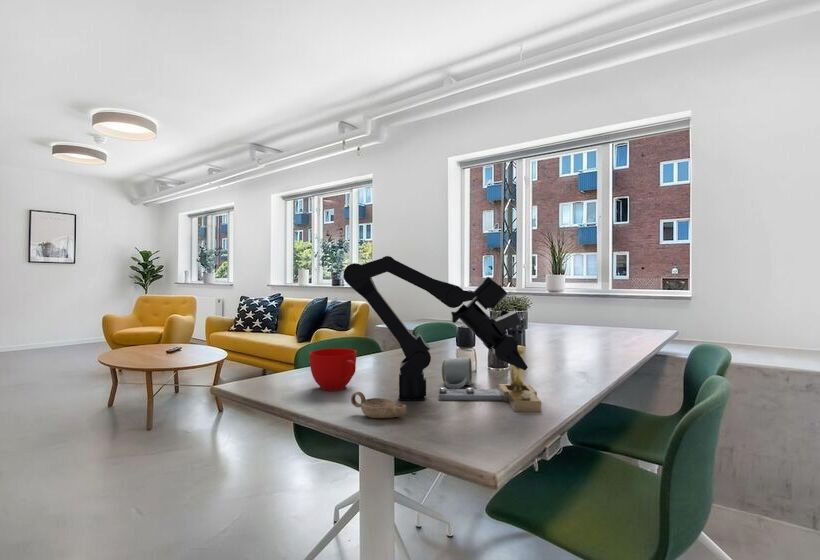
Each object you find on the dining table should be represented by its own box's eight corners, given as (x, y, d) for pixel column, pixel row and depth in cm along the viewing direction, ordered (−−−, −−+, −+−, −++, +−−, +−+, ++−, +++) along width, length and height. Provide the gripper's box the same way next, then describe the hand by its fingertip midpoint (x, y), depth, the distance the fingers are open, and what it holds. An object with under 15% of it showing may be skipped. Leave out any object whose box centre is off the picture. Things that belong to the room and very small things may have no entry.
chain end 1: (439, 400, 108) (439, 392, 108) (438, 392, 116) (438, 384, 116) (536, 401, 107) (536, 392, 107) (529, 393, 115) (529, 384, 115)
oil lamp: (411, 415, 97) (411, 392, 97) (397, 425, 90) (396, 401, 90) (360, 408, 103) (360, 387, 103) (343, 417, 96) (343, 395, 96)
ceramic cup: (332, 399, 109) (332, 360, 109) (301, 387, 122) (301, 351, 122) (374, 390, 118) (373, 354, 118) (340, 380, 131) (340, 346, 131)
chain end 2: (510, 411, 99) (510, 396, 99) (498, 392, 115) (498, 380, 115) (545, 411, 99) (545, 396, 99) (529, 393, 115) (529, 380, 115)
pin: (508, 398, 110) (508, 347, 110) (509, 394, 113) (509, 345, 113) (524, 400, 108) (524, 348, 108) (525, 395, 112) (525, 345, 112)
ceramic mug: (444, 379, 130) (444, 354, 130) (472, 381, 128) (472, 355, 128) (439, 389, 120) (439, 361, 120) (469, 391, 118) (469, 362, 118)
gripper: (509, 302, 102) (556, 349, 101) (494, 298, 120) (534, 338, 120) (475, 336, 102) (523, 383, 102) (466, 327, 120) (506, 366, 120)
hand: (522, 365), depth 111 cm, fingers open, 7 cm apart
